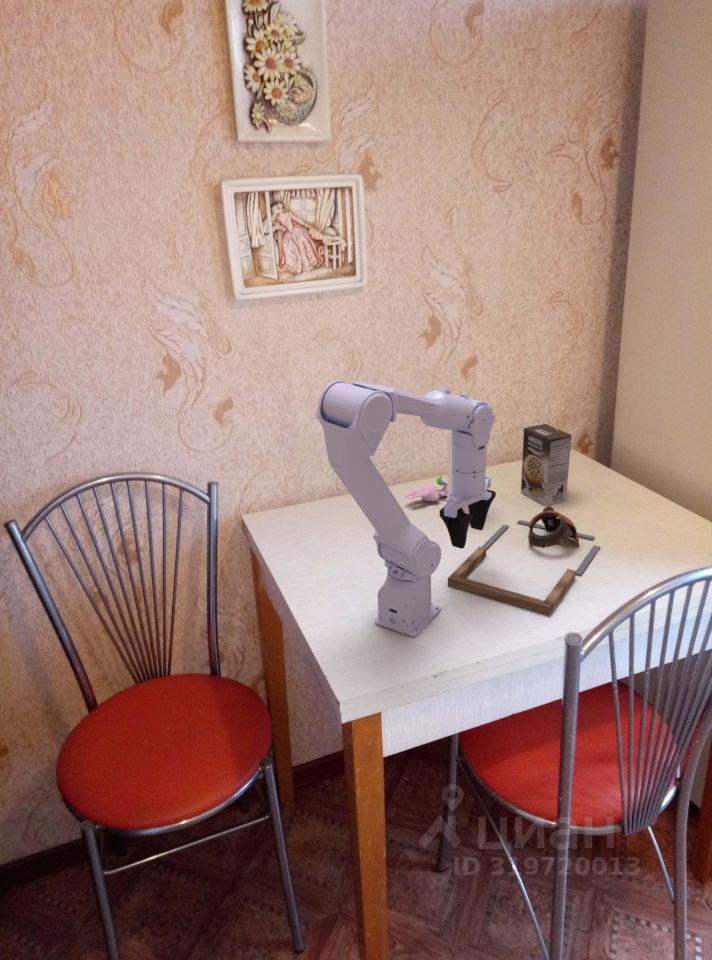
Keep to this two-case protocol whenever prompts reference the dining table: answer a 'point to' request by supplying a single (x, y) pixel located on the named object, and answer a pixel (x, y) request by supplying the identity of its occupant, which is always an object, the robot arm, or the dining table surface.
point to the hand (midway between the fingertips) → (467, 537)
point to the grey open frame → (584, 536)
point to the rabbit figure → (429, 491)
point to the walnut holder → (505, 596)
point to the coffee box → (545, 464)
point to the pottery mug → (552, 529)
